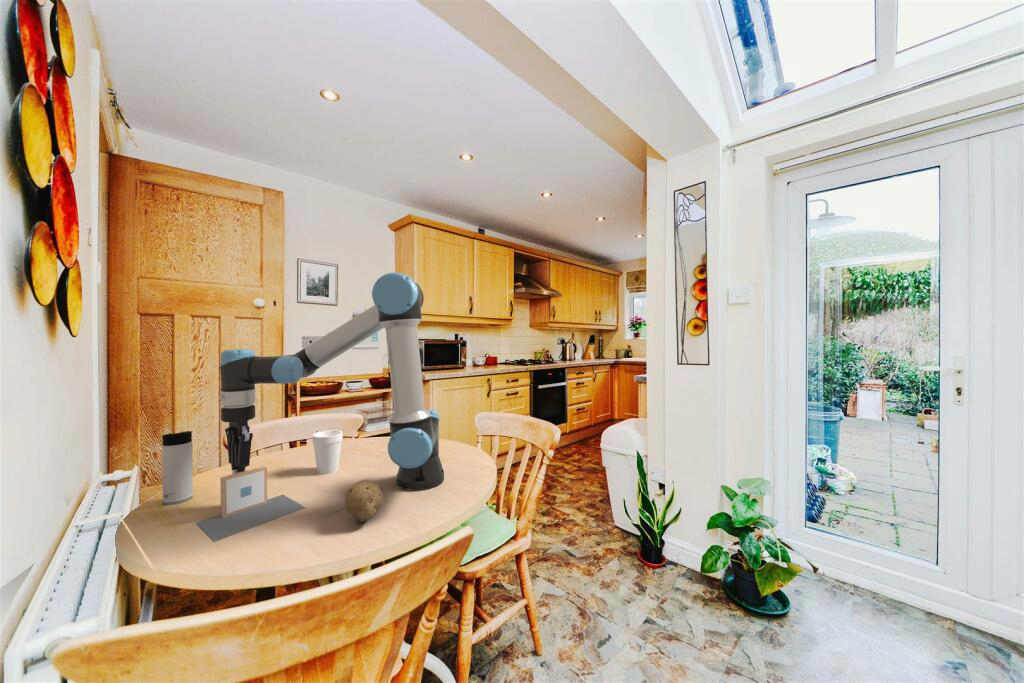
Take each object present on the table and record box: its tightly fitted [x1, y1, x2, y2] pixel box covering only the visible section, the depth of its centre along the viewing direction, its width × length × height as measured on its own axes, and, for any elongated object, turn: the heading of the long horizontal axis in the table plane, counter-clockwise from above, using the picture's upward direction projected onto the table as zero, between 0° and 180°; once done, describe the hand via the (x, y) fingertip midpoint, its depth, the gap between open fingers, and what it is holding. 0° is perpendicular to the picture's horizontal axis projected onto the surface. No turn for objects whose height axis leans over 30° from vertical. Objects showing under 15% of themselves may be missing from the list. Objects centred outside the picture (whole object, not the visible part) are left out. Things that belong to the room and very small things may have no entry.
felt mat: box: [194, 494, 306, 543], centre depth 94 cm, size 14×20×1 cm
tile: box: [220, 465, 268, 517], centre depth 97 cm, size 2×10×10 cm, turn 144°
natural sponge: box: [344, 480, 384, 523], centre depth 93 cm, size 9×9×10 cm
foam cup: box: [312, 429, 344, 475], centre depth 126 cm, size 10×9×13 cm
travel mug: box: [161, 430, 194, 507], centre depth 102 cm, size 6×7×20 cm
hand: (239, 490), depth 100 cm, fingers closed
